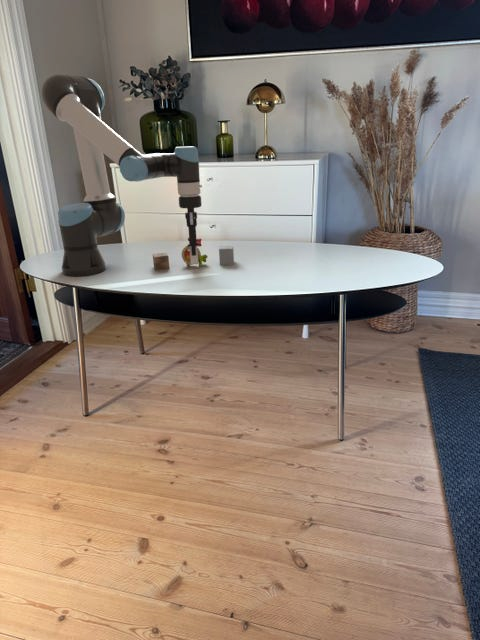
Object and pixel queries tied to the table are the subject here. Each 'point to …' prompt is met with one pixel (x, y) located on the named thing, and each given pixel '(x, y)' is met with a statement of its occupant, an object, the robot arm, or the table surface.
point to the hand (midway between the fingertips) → (194, 263)
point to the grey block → (226, 255)
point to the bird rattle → (187, 255)
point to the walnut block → (161, 261)
